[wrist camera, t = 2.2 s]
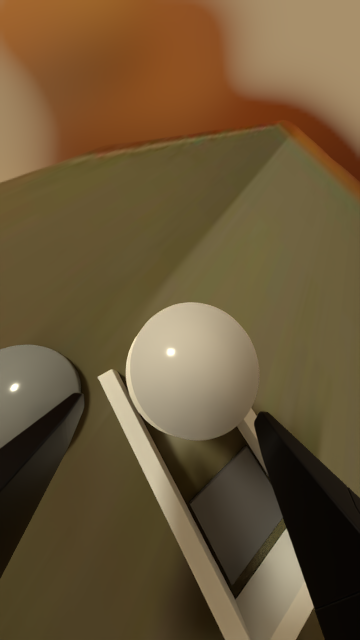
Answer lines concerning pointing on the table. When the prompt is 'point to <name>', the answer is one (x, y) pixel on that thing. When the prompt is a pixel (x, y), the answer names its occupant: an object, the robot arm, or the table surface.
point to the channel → (226, 532)
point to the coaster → (32, 386)
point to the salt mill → (192, 372)
